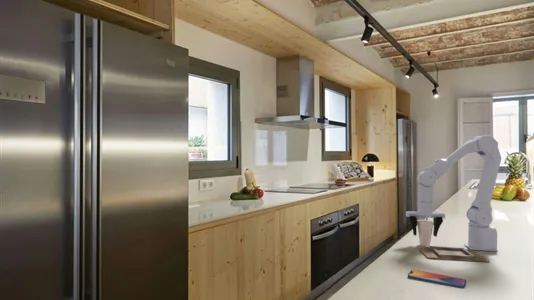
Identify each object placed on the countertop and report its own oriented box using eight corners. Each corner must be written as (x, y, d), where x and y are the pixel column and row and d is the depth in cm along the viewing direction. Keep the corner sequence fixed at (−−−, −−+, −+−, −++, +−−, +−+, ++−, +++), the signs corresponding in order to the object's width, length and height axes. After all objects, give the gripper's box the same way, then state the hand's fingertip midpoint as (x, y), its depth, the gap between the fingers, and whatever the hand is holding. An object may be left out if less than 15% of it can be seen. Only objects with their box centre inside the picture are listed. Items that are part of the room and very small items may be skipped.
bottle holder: (473, 251, 144) (473, 247, 144) (489, 262, 130) (489, 258, 130) (417, 248, 146) (418, 244, 146) (427, 258, 133) (427, 254, 133)
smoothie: (435, 247, 148) (435, 212, 148) (417, 246, 149) (418, 211, 149) (431, 244, 154) (432, 209, 154) (414, 243, 156) (415, 208, 156)
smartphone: (464, 290, 104) (464, 286, 104) (406, 278, 112) (407, 275, 112) (466, 283, 110) (466, 279, 110) (412, 272, 118) (412, 268, 118)
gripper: (441, 200, 155) (441, 234, 155) (404, 199, 157) (403, 232, 157) (447, 203, 148) (446, 238, 148) (408, 201, 150) (407, 236, 150)
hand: (424, 235), depth 152 cm, fingers open, 7 cm apart
